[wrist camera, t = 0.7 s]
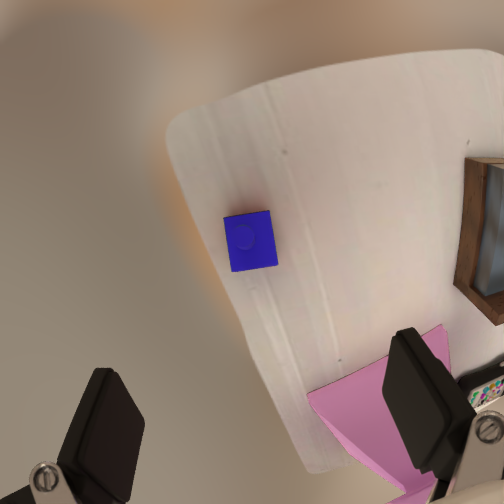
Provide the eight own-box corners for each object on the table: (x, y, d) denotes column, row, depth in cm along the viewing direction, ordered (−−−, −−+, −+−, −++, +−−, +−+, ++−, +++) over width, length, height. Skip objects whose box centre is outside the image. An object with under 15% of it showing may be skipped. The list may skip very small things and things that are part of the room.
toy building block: (268, 220, 29) (270, 202, 21) (275, 265, 29) (280, 264, 21) (230, 227, 29) (218, 210, 21) (237, 272, 29) (227, 272, 21)
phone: (457, 374, 38) (469, 392, 34) (516, 345, 38) (528, 359, 34) (442, 411, 43) (451, 428, 39) (499, 383, 42) (509, 397, 38)
